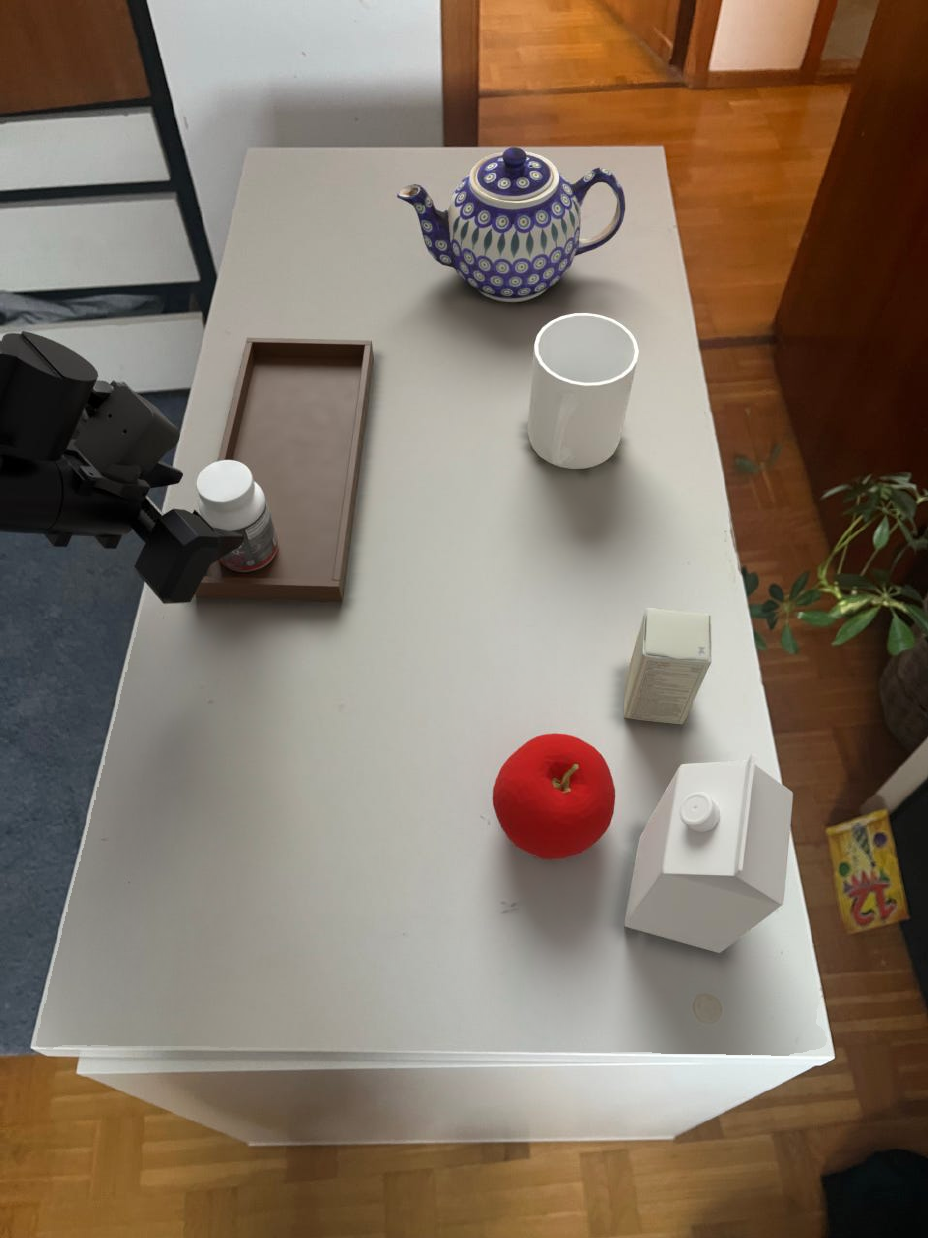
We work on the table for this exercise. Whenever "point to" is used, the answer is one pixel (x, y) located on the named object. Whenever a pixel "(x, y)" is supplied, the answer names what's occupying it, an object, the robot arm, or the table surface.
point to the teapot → (512, 224)
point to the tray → (298, 461)
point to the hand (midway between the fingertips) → (210, 508)
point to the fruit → (554, 796)
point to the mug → (580, 389)
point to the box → (667, 665)
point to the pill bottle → (238, 513)
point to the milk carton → (712, 855)
